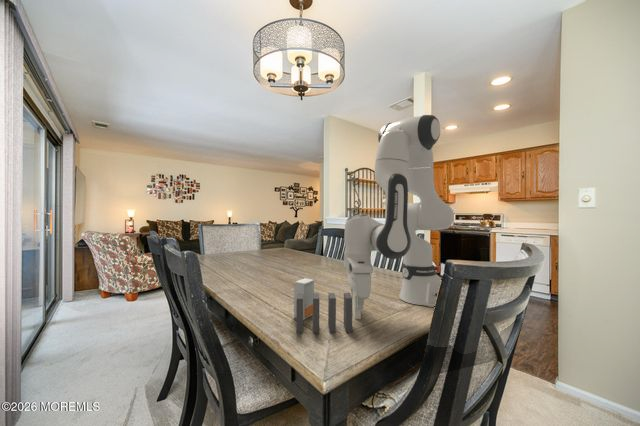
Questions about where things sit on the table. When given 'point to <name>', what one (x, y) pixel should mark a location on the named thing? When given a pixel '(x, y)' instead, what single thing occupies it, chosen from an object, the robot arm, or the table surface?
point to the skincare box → (304, 296)
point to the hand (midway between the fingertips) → (357, 303)
